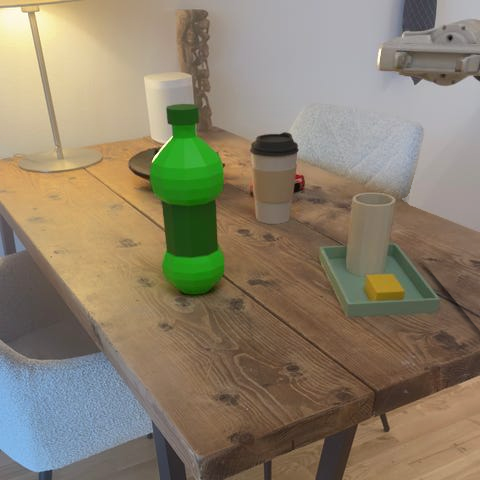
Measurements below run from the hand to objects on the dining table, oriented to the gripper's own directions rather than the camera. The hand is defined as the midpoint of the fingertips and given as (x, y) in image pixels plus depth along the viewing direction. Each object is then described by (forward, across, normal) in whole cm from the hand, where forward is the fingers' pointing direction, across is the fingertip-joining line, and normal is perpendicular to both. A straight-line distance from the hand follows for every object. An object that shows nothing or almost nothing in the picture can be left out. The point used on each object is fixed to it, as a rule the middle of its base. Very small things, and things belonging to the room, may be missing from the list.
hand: (428, 64), depth 86 cm
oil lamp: (-10, +56, -27) cm, 63 cm away
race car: (-15, +33, -27) cm, 45 cm away
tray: (+22, -2, -27) cm, 35 cm away
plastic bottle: (+35, +22, -27) cm, 49 cm away
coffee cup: (+1, +26, -27) cm, 37 cm away
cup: (+17, 0, -26) cm, 31 cm away
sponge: (+26, -6, -26) cm, 37 cm away
